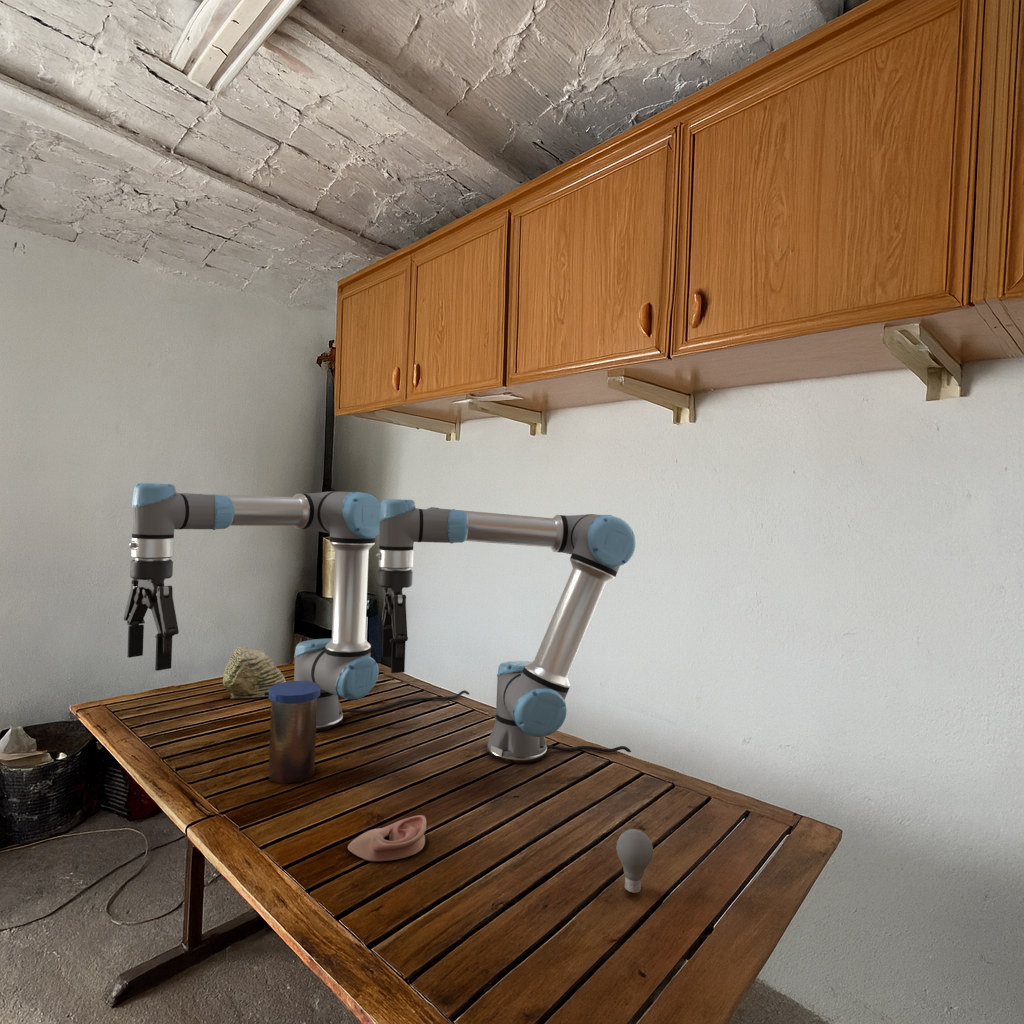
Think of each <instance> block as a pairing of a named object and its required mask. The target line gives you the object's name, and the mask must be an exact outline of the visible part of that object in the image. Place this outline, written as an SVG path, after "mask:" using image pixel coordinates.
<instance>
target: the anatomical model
mask: <svg viewBox="0 0 1024 1024" xmlns="http://www.w3.org/2000/svg"><path fill="white" fill-rule="evenodd" d="M426 830H427V818H426V816H425V815H422V814H419V815H418V814H417V815H413V816H409V817H406V818H403V819H400V820H398V821H396V822H394V823H391V824H389V825H386V826H384V827H379V828H374V829H370V830H367V831H365V832H363V833H362V834H360V835H358V836H357V837H355V838H354V839H352V840H351V841H350V842H349V843H348V845H347V850H348V851H349V852H351V854H353V855H355V856H356V857H358V858H360V859H363V860H365V861H368V862H388V861H394V860H396V861H397V860H399V859H400V860H401V859H405V858H408V857H411V856H413V855H415V854H417V853H419V852H421V850H423V848H424V847H425V844H426V836H425V833H426Z"/></svg>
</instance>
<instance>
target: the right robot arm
mask: <svg viewBox="0 0 1024 1024" xmlns="http://www.w3.org/2000/svg"><path fill="white" fill-rule="evenodd" d="M380 503H381V509H380V519H379V520H380V523H379V534H378V536H379V537H378V552H379V553H376V555H375V557H376V559H378V567H379V568H380V569H379V570H378V571H377V585H378V587H380V588H383V589H384V596H383V597H384V598H383V605H382V606H383V607H382V615H381V620H380V621H381V624H382V641H381V642H382V645H381V646H382V648H381V649H382V650H381V658H391V662H390V663H391V665H390V673H391V674H400V673H405V670H406V669H405V668H406V667H405V666H406V642H408V640H409V637H408V623H407V622H408V621H407V619H408V618H407V594H403V589H404V588H406V589H407V588H410V587H412V586H413V575H414V574H413V573H414V571H413V570H412V568H414V552H415V551H414V543H439V544H440V543H441V544H458V543H459V544H460V543H462V544H463V543H465V542H472V543H473V542H474V543H484V544H485V543H486V544H497V545H498V544H500V545H509V546H510V545H512V546H523V547H535V548H549V549H550V550H551V551H552V552H553V553H561V554H562V553H563V554H567V555H570V558H569V562H570V564H571V567H572V569H571V572H570V574H569V576H568V579H567V581H566V583H565V586H564V588H563V591H562V593H561V595H560V598H559V600H558V603H557V605H556V607H555V609H554V612H553V613H552V617H551V620H550V621H549V624H548V625H547V626H548V627H547V629H546V631H545V633H544V636H543V638H542V641H541V643H540V646H539V648H538V651H537V653H536V655H535V657H534V659H533V661H528V660H512V661H511V660H510V661H504V662H501V663H500V664H499V665H498V668H497V669H498V670H497V674H496V677H497V679H496V680H497V681H496V702H495V703H496V707H495V721H494V725H493V727H492V730H491V733H490V735H489V737H488V741H487V746H486V747H487V750H486V751H487V753H488V755H489V756H490V757H492V758H493V759H495V760H497V761H501V762H504V763H509V764H531V763H536V762H539V761H542V760H543V759H545V758H546V756H547V753H548V750H549V749H550V750H556V751H561V752H573V751H579V750H589V751H597V752H601V753H614V752H618V751H623V750H624V751H626V752H627V753H632V751H631V749H630V748H629V747H628V746H625V745H619V746H616V747H613V748H604V747H597V746H593V745H577V746H571V747H563V746H557V745H551V744H547V740H546V737H547V736H551V735H552V734H554V733H556V732H557V731H558V730H559V729H560V728H561V727H562V726H563V724H564V722H565V721H566V718H567V711H568V709H567V704H566V701H565V700H566V697H567V695H568V693H569V691H570V687H571V684H570V681H569V678H568V677H569V676H568V675H569V673H570V671H571V668H572V666H573V664H574V661H575V660H576V659H575V658H576V656H577V653H578V651H579V649H580V646H581V644H582V643H583V640H584V637H585V635H586V632H587V630H588V627H589V625H590V623H591V620H592V618H593V616H594V613H595V610H596V608H597V606H598V603H599V601H600V598H601V596H602V593H603V591H604V588H605V586H606V584H607V583H608V582H610V581H612V580H615V579H616V577H617V574H618V572H619V570H620V568H621V566H623V565H625V564H627V563H628V562H629V561H630V560H631V558H632V557H633V556H634V553H635V550H636V545H637V544H636V543H637V542H636V536H635V533H634V531H633V529H632V526H630V524H629V523H628V522H627V521H625V520H624V519H622V518H621V517H617V516H614V515H612V514H595V513H588V514H574V515H573V514H570V515H569V514H567V515H566V514H556V515H554V517H543V516H532V515H531V516H529V515H520V514H519V515H518V514H509V513H506V514H505V513H496V512H484V511H474V510H463V509H455V508H452V509H451V508H440V507H434V506H433V507H432V506H431V507H428V508H418V507H416V502H415V501H414V500H413V499H401V498H399V499H397V498H385V499H383V500H382V502H380Z"/></svg>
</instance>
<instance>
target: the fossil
mask: <svg viewBox="0 0 1024 1024" xmlns="http://www.w3.org/2000/svg"><path fill="white" fill-rule="evenodd" d="M222 676H223V677H222V685H223V687H224V688H225V690H226V691H228V693H229V698H230V699H250V698H264V697H268V692H269V688H270V687H271V686H273V685H275V684H278V683H283V682H287V680H286V678H285V676H284V674H283V673H282V672H281V669H279V668H278V667H277V665H276V663H275V662H274V660H273V659H272V658H271V657H270V656H269V655H268V654H267V653H266V652H265V650H264V649H263V648H260V647H258V648H251V647H247V646H246V647H245V646H238V647H237V648H236V649H235V650H233V651H232V653H231V656H230V657H229V659H228V660H227V663H226V666H225V668H224V671H223V675H222Z"/></svg>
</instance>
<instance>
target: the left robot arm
mask: <svg viewBox="0 0 1024 1024" xmlns="http://www.w3.org/2000/svg"><path fill="white" fill-rule="evenodd" d="M381 503H382V502H380V501H379V500H378V498H377V497H375V495H373V494H370V493H367V492H363V491H362V492H361V491H337V490H336V491H335V490H333V491H332V490H330V491H321V492H311V493H295V494H294V495H293V496H276V495H275V496H274V495H273V496H272V495H248V494H247V495H246V494H244V495H243V494H220V493H219V494H218V493H217V494H216V493H215V494H214V493H189V492H187V493H186V492H177V491H176V486H175V485H174V484H173V483H152V482H139V483H137V484H136V485H135V486H134V488H133V492H132V501H131V520H132V521H131V542H130V543H128V547H129V548H130V549H131V550H130V556H131V558H133V559H132V560H131V561H130V567H129V568H130V571H129V574H130V575H129V576H130V578H131V581H130V590H129V594H128V598H127V603H126V607H125V610H124V615H123V621H124V622H126V624H127V626H128V629H127V630H128V631H127V658H135V657H142V656H144V635H145V634H144V630H145V625H144V624H145V623H146V621H145V619H144V618H145V616H146V615H147V612H148V609H149V610H151V613H152V618H153V620H154V624H155V627H156V631H157V633H156V635H155V636H154V638H155V661H154V663H155V665H154V668H155V669H154V670H155V671H157V672H159V671H164V670H169V669H172V659H173V657H172V655H173V637H175V636H176V635H179V632H180V631H179V625H178V619H177V615H176V614H177V613H176V609H175V603H174V597H173V595H174V593H173V585H165V580H167V579H171V578H172V577H173V575H174V573H173V572H174V561H173V560H172V559H171V558H173V557H174V554H175V553H174V552H175V530H213V531H215V530H224V529H228V528H230V526H233V527H234V526H237V527H238V526H240V527H243V526H246V527H247V526H249V527H250V526H258V527H259V526H268V527H269V526H276V527H277V526H282V527H284V526H285V527H286V526H287V527H288V526H289V527H290V526H291V527H293V528H294V529H296V530H308V531H309V530H310V531H316V532H319V533H325V534H329V544H330V545H331V546H332V547H333V548H334V550H335V551H334V572H333V573H334V577H333V599H332V625H331V626H332V627H331V638H317V639H308V640H304V641H300V642H299V643H297V645H296V646H295V650H294V655H293V657H294V672H293V673H294V674H293V681H309V682H314V683H317V684H319V685H320V689H321V694H320V696H319V697H318V698H317V717H316V733H317V732H325V731H329V730H332V729H335V728H337V727H339V726H340V725H342V723H343V722H344V713H355V714H356V713H358V714H365V713H372V712H377V711H381V710H384V709H388V708H392V707H394V706H397V705H401V704H405V703H409V702H410V703H411V702H420V701H421V702H422V701H438V700H439V701H442V700H443V701H444V700H445V701H447V700H448V701H449V700H454V699H457V698H459V697H461V696H462V695H463V694H466V695H467V696H468V695H470V692H469V691H467V690H461V691H460V692H458V693H457V694H455V695H451V696H428V697H427V696H426V697H413V698H406V699H400V700H397V701H393V702H392V703H389V704H385V705H381V706H377V707H373V708H366V709H357V708H354V709H353V708H352V709H350V708H349V709H347V708H344V709H343V708H342V706H341V702H340V699H339V698H341V699H342V700H343V699H344V700H348V701H349V700H350V701H357V700H360V699H362V698H364V697H365V696H367V695H368V694H370V692H371V690H372V689H374V687H375V685H376V683H377V682H378V678H379V674H380V672H379V671H380V670H379V669H380V668H379V665H378V663H377V662H376V660H375V659H374V657H371V652H372V649H371V648H372V644H371V643H370V642H368V640H367V639H366V631H367V607H368V606H367V605H368V604H367V602H368V582H369V581H368V579H369V555H370V553H369V552H370V550H371V548H372V547H374V545H375V544H376V536H379V523H380V520H379V519H380V509H381Z"/></svg>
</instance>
